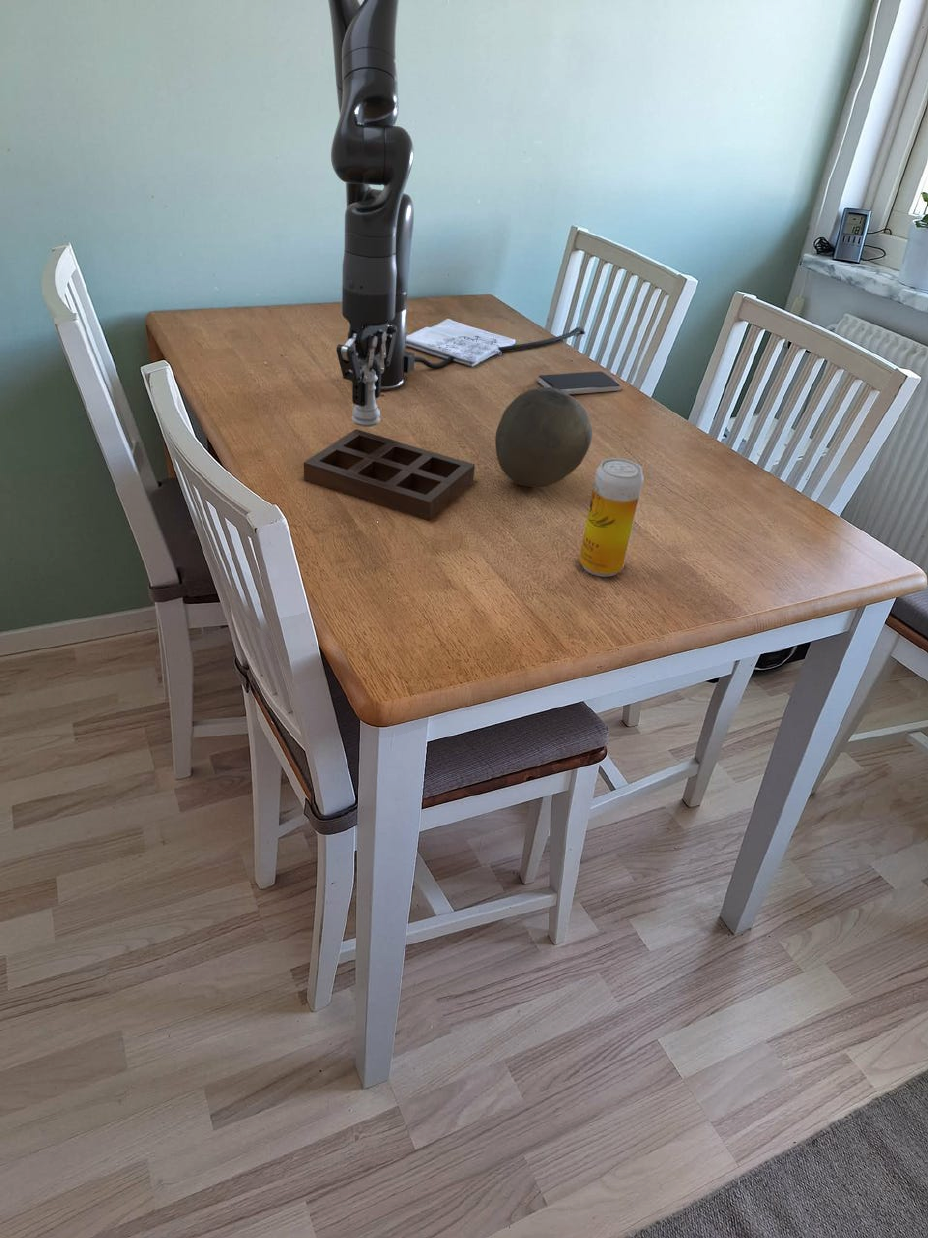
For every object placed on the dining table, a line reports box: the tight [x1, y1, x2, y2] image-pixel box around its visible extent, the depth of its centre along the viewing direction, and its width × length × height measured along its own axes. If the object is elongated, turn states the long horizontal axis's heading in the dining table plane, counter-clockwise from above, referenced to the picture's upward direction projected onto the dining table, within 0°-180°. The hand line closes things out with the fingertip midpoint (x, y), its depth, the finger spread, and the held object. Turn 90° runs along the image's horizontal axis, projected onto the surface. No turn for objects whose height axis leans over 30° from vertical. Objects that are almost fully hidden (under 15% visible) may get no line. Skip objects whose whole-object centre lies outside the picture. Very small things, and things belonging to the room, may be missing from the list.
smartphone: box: [537, 371, 622, 395], centre depth 177 cm, size 8×1×15 cm
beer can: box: [579, 457, 644, 578], centre depth 118 cm, size 6×6×15 cm
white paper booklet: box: [406, 318, 516, 368], centre depth 189 cm, size 19×20×2 cm
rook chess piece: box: [351, 368, 381, 428], centre depth 135 cm, size 4×4×8 cm
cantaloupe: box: [494, 386, 593, 488], centre depth 136 cm, size 14×14×15 cm
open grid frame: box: [303, 428, 476, 521], centre depth 136 cm, size 15×21×3 cm
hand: (366, 399), depth 136 cm, fingers closed on rook chess piece, 3 cm apart
